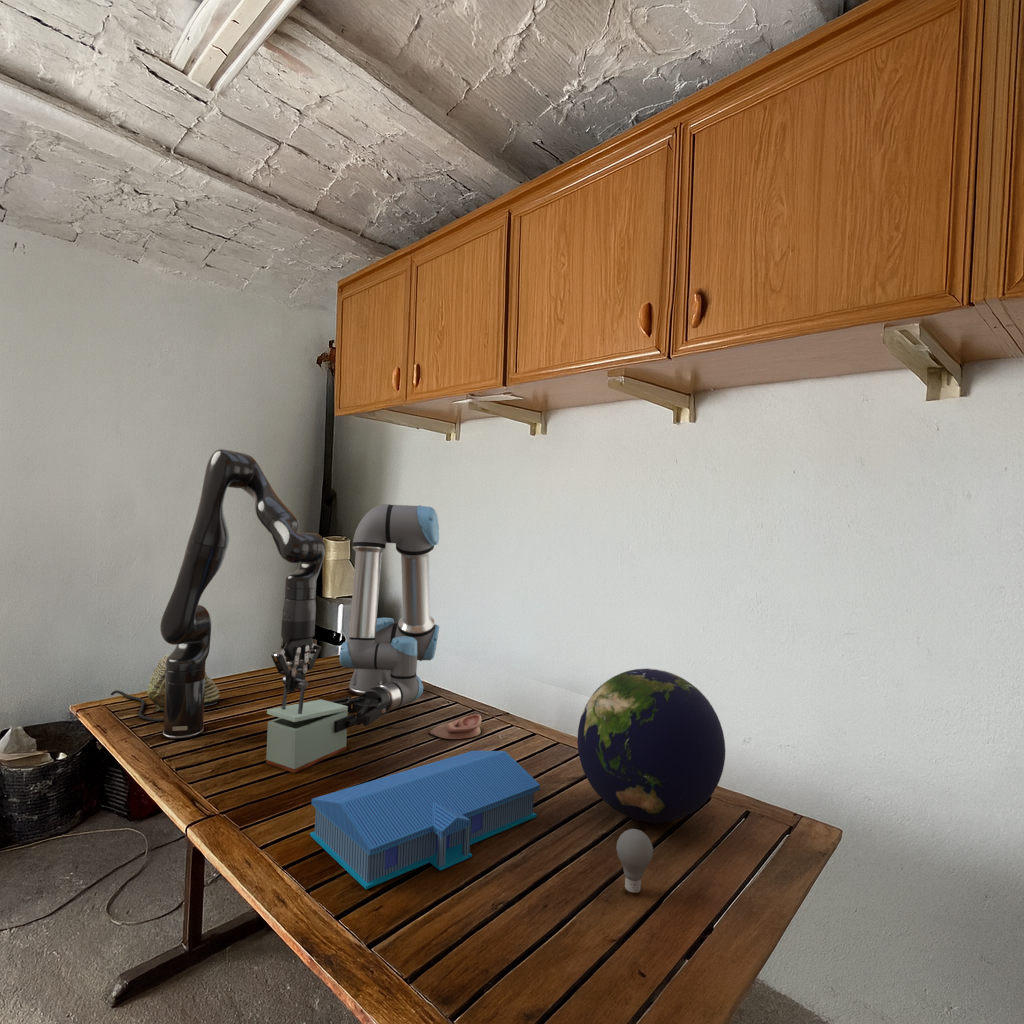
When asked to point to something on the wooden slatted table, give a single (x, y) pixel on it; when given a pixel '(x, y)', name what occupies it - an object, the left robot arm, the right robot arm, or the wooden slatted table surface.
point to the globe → (651, 745)
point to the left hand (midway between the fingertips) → (295, 689)
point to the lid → (304, 706)
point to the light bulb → (634, 857)
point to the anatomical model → (459, 728)
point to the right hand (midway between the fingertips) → (320, 722)
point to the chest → (304, 741)
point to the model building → (423, 815)
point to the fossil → (158, 687)
